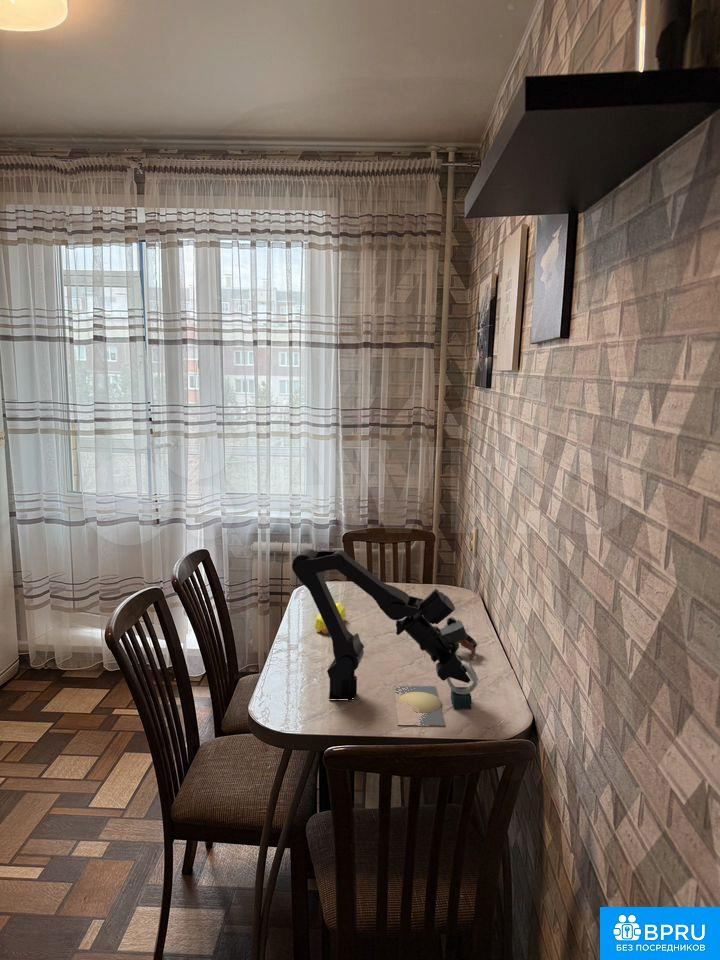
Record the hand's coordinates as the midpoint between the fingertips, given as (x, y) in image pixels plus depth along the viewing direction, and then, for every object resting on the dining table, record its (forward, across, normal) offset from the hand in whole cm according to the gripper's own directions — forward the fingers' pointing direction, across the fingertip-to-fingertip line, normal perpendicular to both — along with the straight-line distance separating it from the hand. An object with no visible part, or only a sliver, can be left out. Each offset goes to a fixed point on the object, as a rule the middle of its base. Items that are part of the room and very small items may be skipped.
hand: (467, 676), depth 163 cm
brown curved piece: (+7, +29, +4) cm, 30 cm away
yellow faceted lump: (-20, +53, +31) cm, 64 cm away
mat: (-4, -1, +14) cm, 14 cm away
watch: (+4, 0, +6) cm, 7 cm away
